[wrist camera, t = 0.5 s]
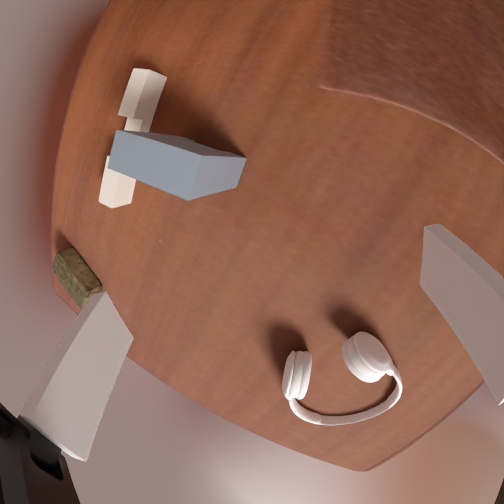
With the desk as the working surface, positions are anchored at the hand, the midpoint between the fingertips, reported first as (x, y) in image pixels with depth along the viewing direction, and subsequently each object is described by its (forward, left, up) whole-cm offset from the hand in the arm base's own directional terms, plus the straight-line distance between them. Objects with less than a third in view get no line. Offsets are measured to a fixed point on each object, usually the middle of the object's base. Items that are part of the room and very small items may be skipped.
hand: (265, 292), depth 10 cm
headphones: (+23, +17, -25) cm, 38 cm away
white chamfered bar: (0, -26, -25) cm, 36 cm away
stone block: (+28, -34, -25) cm, 51 cm away
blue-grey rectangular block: (0, -14, -25) cm, 29 cm away
